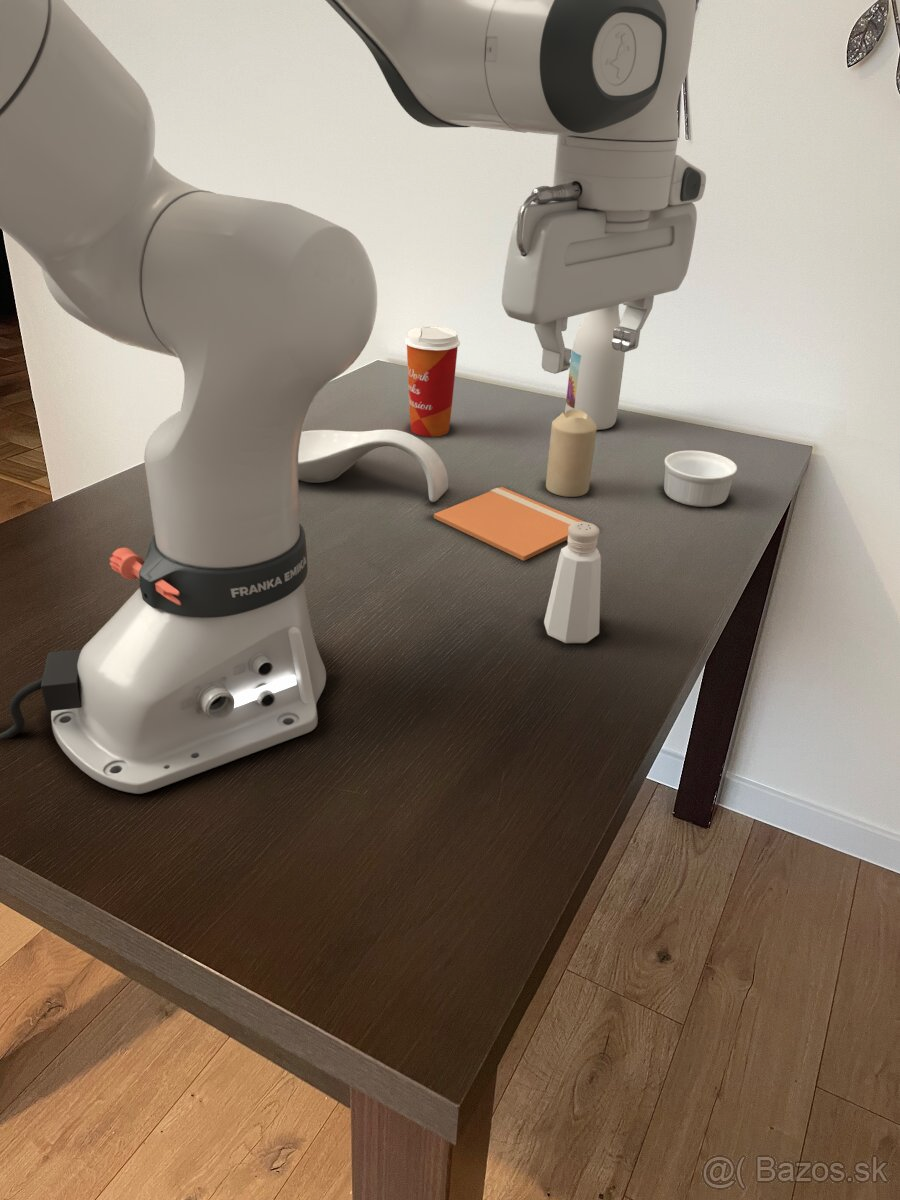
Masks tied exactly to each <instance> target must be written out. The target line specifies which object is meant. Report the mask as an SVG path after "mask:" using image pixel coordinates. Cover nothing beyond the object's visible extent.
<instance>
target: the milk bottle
mask: <svg viewBox="0 0 900 1200" xmlns="http://www.w3.org/2000/svg"><path fill="white" fill-rule="evenodd" d="M620 322H621V316H620V304H619V305H615V306H611V307H607V308H603V309H599V310H595V311H591V312H587V313H585V316H584V318H583V320H582V322H581V323H580V325H579V327H578V328H577V331H576V333H575V336H574V339H573V343H572V348H571V350H572V352H571V359H570V367H569V370H568V379H567V380H568V381H567V389H566V400H565V408H564V409H565V410H564V412H567V411H568V410H582V411H583V412H585V413H586V414H587V415H588V416H589V417H590V418H591V419H592V420H593V421H594V422H595V424H596V425H597V431H598V430H607V429H610V428H612V427H613V426H614V425H615V424H616V422H617V417H618V410H619V402H620V396H621V395H620V394H621V390H622V381H623V372H624V365H625V357H626V352H622V351H619V350H615V349H614V348H613V347H612V340H613V330H614V328H616V327H619V325H620Z"/></svg>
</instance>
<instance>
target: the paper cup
mask: <svg viewBox="0 0 900 1200" xmlns="http://www.w3.org/2000/svg"><path fill="white" fill-rule="evenodd" d="M406 334H407V335H406V337H405V338H404V344H405V345H406V358H407V359H406V360H407V385H408V405H409V407H408V408H409V424H410V431H411V432H412V433H413V434H415V435H418V436H421V437H441V436H444V435H446V434H448V433H449V430H450V426H451V418H452V409H453V399H454V390H455V389H454V387H455V380H456V379H455V378H456V370H457V369H456V368H457V367H456V366H457V357H458V347H459V346H460V345H461V341H460V340H459V336H458V333H457V331H455V329H451V328H448V327H443V326H436V325H435V326H433V327H432V326H422V327H419V326H417V327H412V328H410V329H409V330H408V331H407V333H406Z"/></svg>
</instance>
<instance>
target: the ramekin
mask: <svg viewBox="0 0 900 1200" xmlns="http://www.w3.org/2000/svg"><path fill="white" fill-rule="evenodd" d="M737 471H738V465H737V464H736V463H735V462H734V461H733V460H731V459H730V458H728V457H725V456H724V455H721V454H718V453H715V452H710V451H706V450H705V451H704V450H679V451H675V452H672V453H670V454H668V455H667V456H665V458H664V480H663V483H664V484H663V489H664V493H665V494H666V496H668V497H669V498H670V499H671V500H673V501H674V502H677V503H680V504H681V505H686V506H690V507H699V508H710V507H715V506H718V505H721V504H723V503H725V502H726V501H727V499H728V497H729V494H730V491H731V487H732V483H733V480H734V478H735V475H736V474H737Z"/></svg>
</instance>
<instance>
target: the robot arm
mask: <svg viewBox="0 0 900 1200" xmlns="http://www.w3.org/2000/svg"><path fill="white" fill-rule="evenodd" d="M325 1H326V3H327V4H329V6H330V7H331V8H332V9H333V10H334V11H335V12H336V13H337V14H338V15H339V16H340V17H341V18H342V20H344V22H345V23H346V24H347V25H348V26H349V27H350V28H351V29H352V30H353V31H354V33H356V35H357V36H358V37H359V38H360V39H361V40H362V42H363V43H364V45H365V46H366V47H367V49H368V50H369V52H370V53H371V55H372V56H373V58H374V60H375V62H376V63H377V65H378V67H379V69H380V71H381V73H382V75H383V77H384V79H385V81H386V83H387V85H388V87H389V88H390V91H391V92H392V94H393V96H394V97H395V99H396V101H397V103H398V104H399V105H400V106H401V107H402V109H403V110H404V111H405V113H407V114H408V115H409V116H410V117H411V118H412V119H414V121H417V122H418V123H420V124H422V125H424V126H427V127H431V128H437V129H438V128H473V127H474V128H481V129H489V130H490V129H491V130H498V131H505V132H516V133H524V134H525V133H530V134H531V133H532V134H540V135H548V136H549V135H550V136H557V137H556V148H555V160H554V172H553V181H552V182H553V184H552V186H549V185H540V186H538V187H535V188H533V189H532V191H531V195H529V196H528V197H527V198H526V199H525V201H524V202H523V204H522V205H520V207H519V208H518V212H517V216H516V220H515V221H516V222H515V223H514V226H513V229H512V232H511V235H510V239H509V244H508V250H507V254H506V259H505V260H506V261H505V266H504V274H503V282H502V290H501V305H502V307H503V309H504V312H505V314H506V315H507V316H508V318H511V319H514V320H518V321H521V322H524V323H528V324H533V325H534V327H533V329H534V331H535V333H536V337H537V339H538V341H539V343H540V346H541V349H542V355H541V369H543V371H544V372H548V373H550V374H555V375H556V374H559V373H563V372H565V371H569V370H570V362H571V354H572V348H568V347H566V346H565V341H564V336H563V333H562V332H565V331H567V328H568V320H569V318H571V317H575V316H579V315H583V314H587V312H591V311H595V310H599V309H603V308H607V307H611V306H615V305H619V306H620V305H623V306H625V308H624V310H623V314H622V317H621V319H620V321H621V322H620V325H619V327H616V328H614V330H613V340H612V347H613V348H614V349H615V350H619V351H622V352H625V353H627V352H631V351H634V350H636V349H637V348H638V347H639V343H640V336H641V331H642V329H643V327H644V326H645V323H646V321H647V320H648V318H649V315H650V313H651V311H652V309H653V306H654V300H655V296H659V295H662V294H666V293H671V292H675V291H677V290H678V289H679V288H680V287H681V285H682V283H683V282H684V280H685V277H686V276H687V273H688V270H689V266H690V262H691V257H692V251H693V247H694V240H695V236H696V235H695V234H696V228H697V220H698V211H697V207H696V205H695V204H694V203H696V202H699V201H700V200H702V199H703V196H704V193H705V190H706V184H707V175H706V173H705V171H703V170H702V169H700V168H699V167H697V166H696V165H694V164H692V163H690V162H689V161H687V160H686V159H684V158H683V157H682V156H680V155H679V154H677V147H678V142H679V141H678V140H679V131H680V130H679V120H678V104H679V103H678V102H679V97H680V93H681V89H682V87H683V84H684V82H685V80H686V77H687V74H688V71H689V65H690V60H691V59H690V58H691V52H692V46H693V39H694V38H693V36H694V30H695V29H694V28H695V19H696V9H697V0H325ZM155 147H156V121H155V115H154V112H153V109H152V106H151V103H150V101H149V98H148V96H147V95H146V93H145V91H144V89H143V88H142V86H141V84H139V83H138V82H137V80H136V79H135V78H134V77H133V75H132V74H130V72H129V71H128V70H127V68H125V67H124V65H122V63H121V62H120V61H119V60H118V59H117V58H116V56H115V55H113V53H112V52H111V51H110V50H109V49H108V48H107V46H105V44H104V43H103V42H102V41H101V40H100V39H99V37H97V36H96V34H95V33H94V32H93V31H92V30H91V29H90V28H89V27H88V26H87V24H86V23H85V22H84V21H83V20H82V19H81V18H80V17H79V16H78V15H77V13H76V12H75V11H74V10H73V9H72V8H71V7H70V5H68V3H67V2H65V0H0V230H2V231H3V232H4V233H6V234H7V235H8V236H9V237H10V238H11V239H13V240H14V241H15V242H16V243H17V244H18V245H20V247H22V248H23V249H24V251H26V252H27V253H28V254H29V255H30V257H31V258H32V259H33V260H34V261H35V262H36V263H37V264H38V265H39V267H40V269H41V272H42V277H43V279H44V282H45V284H46V286H47V289H48V291H49V293H50V294H51V296H52V298H53V299H54V300H55V302H56V303H57V304H58V305H59V306H60V308H61V309H63V311H65V312H66V313H67V314H68V315H70V316H71V317H73V318H74V319H76V320H78V321H79V322H81V323H83V324H84V325H86V326H88V327H89V328H91V329H93V330H94V331H96V332H99V333H100V334H101V335H103V336H106V337H108V338H110V339H112V340H114V341H116V342H118V343H120V344H122V345H126V346H130V347H133V348H138V349H141V350H146V351H149V352H153V353H157V354H162V355H166V356H168V357H173V358H178V360H179V362H180V364H181V367H182V371H183V376H184V378H183V379H184V387H183V395H182V401H181V405H180V406H181V407H180V410H178V411H177V412H175V413H174V414H172V415H169V417H167V418H166V419H165V420H163V421H162V422H160V424H159V425H158V426H157V427H156V428H155V429H154V430H153V431H152V433H151V434H150V435H149V437H148V440H147V442H146V444H145V447H144V453H143V462H144V466H145V467H144V469H145V474H146V482H147V490H148V496H149V504H150V510H151V517H152V518H151V519H152V525H153V531H154V532H153V535H152V537H151V541H150V544H149V547H148V548H147V549H148V550H147V553H146V556H145V560H144V559H143V558H142V556H140V555H138V554H136V553H135V552H134V551H133V550H132V549H130V548H128V547H119V548H117V549H116V550H114V551H113V552H112V554H111V555H112V556H110V557H109V561H110V562H109V566H111V567H110V568H111V569H112V570H113V571H115V572H116V573H117V574H119V575H121V577H123V579H125V580H136V579H137V578H138V580H139V587H138V588H137V590H136V591H134V592H133V594H132V595H131V596H130V597H129V598H128V599H127V600H126V601H125V602H124V603H123V605H122V606H121V607H120V608H119V609H118V610H117V611H116V612H115V613H114V614H113V616H111V618H110V619H109V620H108V621H107V622H106V623H105V624H103V626H102V627H101V628H100V629H99V630H98V631H97V632H96V634H95V635H93V636H92V637H91V639H89V641H87V642H86V644H85V645H83V647H82V649H81V648H79V649H70V650H62V651H61V650H59V651H49V652H48V653H47V656H46V660H45V661H46V662H45V666H44V670H43V675H42V676H41V677H39V678H38V679H36V680H35V681H32V682H30V683H29V684H26V685H25V686H23V687H22V688H20V689H19V690H18V691H16V693H15V694H14V695H13V697H12V698H11V700H10V702H9V707H8V709H9V713H10V716H11V718H12V720H13V725H12V726H11V727H10V728H8V729H6V730H4V731H3V732H0V740H8V739H13V738H14V737H16V736H17V735H18V734H19V733H21V732H22V731H23V729H24V726H25V717H24V715H23V712H22V710H21V704H22V702H23V700H24V699H26V698H27V697H28V696H30V695H32V694H33V693H35V692H38V691H39V690H41V692H42V697H43V700H44V705H45V709H46V712H50V720H51V721H50V722H51V729H52V734H53V736H54V739H55V741H56V743H57V744H58V746H59V747H60V749H61V750H62V752H63V753H64V754H65V755H66V757H67V758H68V759H69V760H70V761H71V762H72V763H73V764H74V765H75V766H76V767H78V768H79V770H81V771H82V772H83V773H84V774H86V775H87V776H89V777H90V778H91V779H93V780H95V781H96V782H98V783H99V784H101V785H104V786H106V787H108V788H111V789H114V790H117V791H120V792H124V793H130V794H135V795H143V794H145V793H146V794H147V793H149V792H152V791H155V790H158V789H161V788H162V787H166V786H169V785H172V784H174V783H177V782H180V781H182V780H185V779H187V778H190V777H192V776H193V777H194V776H195V775H199V774H201V773H203V772H206V771H209V770H212V769H214V768H217V767H220V766H223V765H225V764H228V763H230V762H233V761H236V760H239V759H241V758H244V757H247V756H249V755H252V754H254V753H257V752H260V751H263V750H265V749H269V748H270V747H271V748H272V747H273V746H276V745H279V744H282V743H284V742H287V741H289V740H292V739H295V738H297V737H300V736H303V735H306V734H308V733H310V732H313V730H315V729H316V728H317V726H318V721H319V718H318V717H319V715H318V709H317V703H318V701H319V699H320V697H321V696H322V693H323V691H324V689H325V687H326V681H327V669H326V667H325V664H324V662H323V659H322V658H321V654H320V652H319V649H318V646H317V643H316V639H315V637H314V632H313V629H312V628H313V627H312V624H311V617H310V615H309V614H310V613H309V609H308V603H307V602H308V601H307V595H306V588H305V580H306V578H307V575H308V571H309V570H308V553H307V551H308V550H307V541H306V532H305V529H304V526H303V525H302V524H301V522H300V501H299V499H300V497H299V480H298V454H299V444H300V437H301V433H302V432H303V428H304V424H305V422H306V419H307V416H308V414H309V412H310V411H309V410H310V409H311V407H312V405H313V404H314V401H315V400H316V399H317V396H318V395H319V394H320V393H321V392H322V390H323V389H324V388H325V387H326V386H327V385H328V384H330V382H332V381H333V380H335V379H336V378H338V377H339V376H340V375H342V374H343V373H345V372H346V371H347V370H348V369H349V368H350V367H351V366H352V365H353V364H354V363H355V362H356V361H357V359H358V358H359V357H360V356H361V354H362V352H363V351H364V350H365V348H366V345H367V344H368V342H369V340H370V337H371V335H372V332H373V330H374V325H375V322H376V317H377V316H376V315H377V310H378V285H377V278H376V275H375V272H374V268H373V267H374V266H373V264H372V262H371V260H370V257H369V255H368V253H367V250H366V249H365V247H364V245H363V243H362V242H361V240H359V238H358V237H357V236H356V235H355V234H354V233H352V232H351V231H350V230H348V229H347V228H345V227H343V226H340V225H338V224H336V223H334V222H332V221H329V220H327V219H325V218H324V217H321V216H318V215H317V214H314V213H311V212H309V211H306V210H303V209H302V208H300V207H297V206H294V205H292V204H289V203H283V202H277V201H271V200H264V199H258V198H257V199H256V198H252V197H251V198H249V197H244V196H236V195H229V194H222V193H216V192H213V191H210V190H204V189H202V188H199V187H196V186H194V185H192V184H189V183H188V182H185V181H183V180H182V179H181V178H178V177H176V176H175V175H173V174H172V173H171V172H169V171H168V170H167V169H165V168H164V167H163V166H162V165H161V164H160V162H159V161H158V160H157V159H156V158H155Z"/></svg>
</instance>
